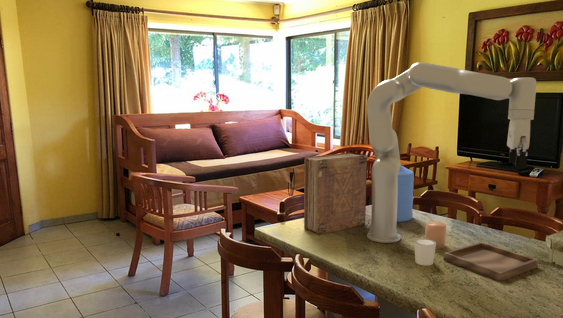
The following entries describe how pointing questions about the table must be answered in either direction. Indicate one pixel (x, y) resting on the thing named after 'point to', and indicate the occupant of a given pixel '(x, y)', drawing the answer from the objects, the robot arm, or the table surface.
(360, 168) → the book
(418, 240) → the white tapered cup
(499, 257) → the walnut tray
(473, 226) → the table surface
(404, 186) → the water jug
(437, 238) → the peach rounded capsule
